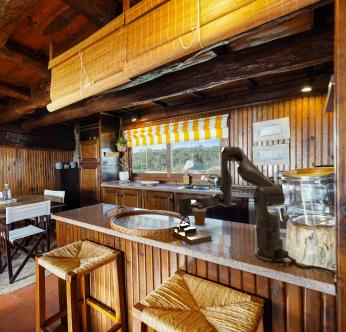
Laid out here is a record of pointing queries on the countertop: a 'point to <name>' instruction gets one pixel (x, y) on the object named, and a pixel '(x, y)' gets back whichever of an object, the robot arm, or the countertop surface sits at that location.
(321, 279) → the countertop surface
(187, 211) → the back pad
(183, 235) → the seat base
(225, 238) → the countertop surface
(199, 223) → the disposable coffee cup
